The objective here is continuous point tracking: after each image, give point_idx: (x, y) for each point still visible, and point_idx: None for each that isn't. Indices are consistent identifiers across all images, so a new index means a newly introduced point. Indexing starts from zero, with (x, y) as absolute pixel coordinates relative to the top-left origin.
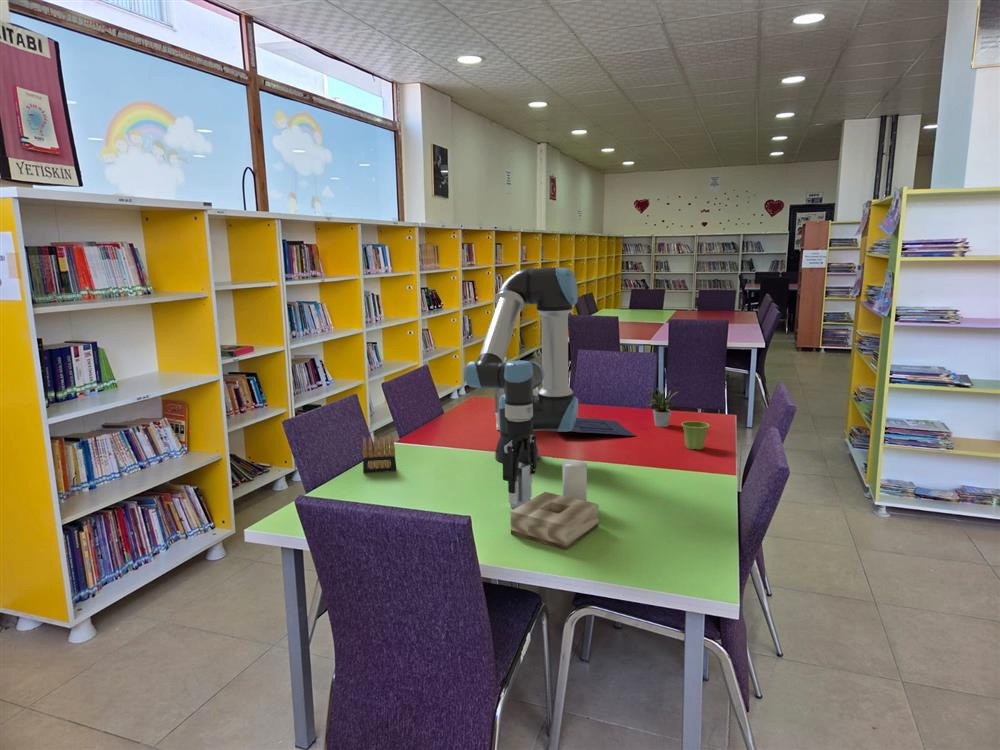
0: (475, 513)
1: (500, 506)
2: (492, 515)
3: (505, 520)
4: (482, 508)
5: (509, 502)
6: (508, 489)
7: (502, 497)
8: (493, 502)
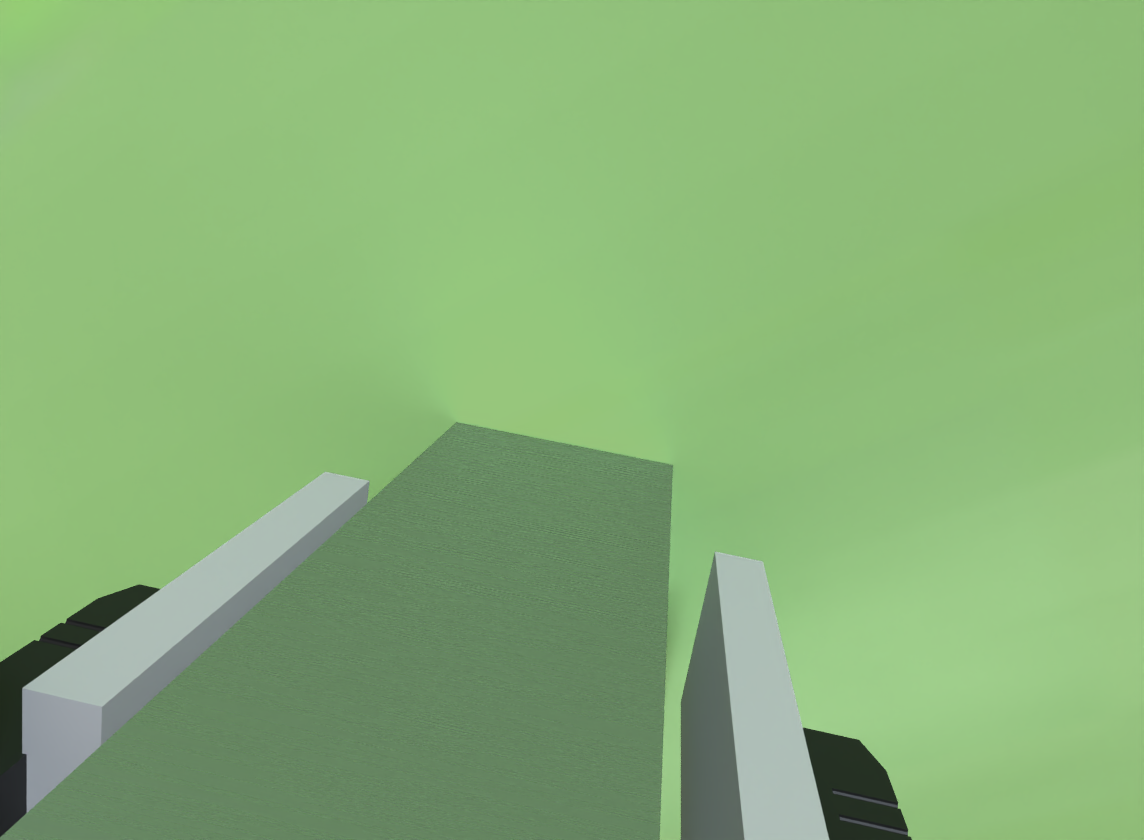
0: (20, 24)
1: (428, 260)
2: (91, 304)
3: (50, 534)
4: (230, 23)
5: (323, 481)
6: (73, 619)
7: (809, 102)
8: (531, 65)
